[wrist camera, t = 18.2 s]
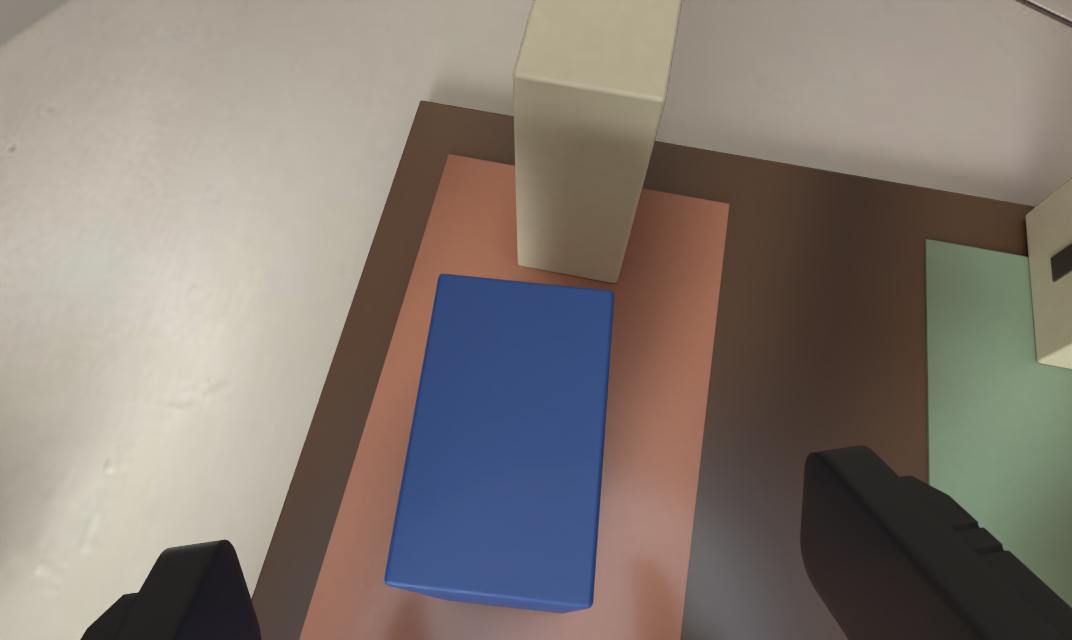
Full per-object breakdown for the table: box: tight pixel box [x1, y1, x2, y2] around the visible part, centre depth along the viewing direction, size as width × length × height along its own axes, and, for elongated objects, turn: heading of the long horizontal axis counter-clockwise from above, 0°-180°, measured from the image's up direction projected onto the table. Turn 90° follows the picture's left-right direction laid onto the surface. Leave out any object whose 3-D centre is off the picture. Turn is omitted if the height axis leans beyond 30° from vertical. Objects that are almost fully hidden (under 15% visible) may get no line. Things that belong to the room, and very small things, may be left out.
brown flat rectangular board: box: [251, 101, 1072, 640], centre depth 19 cm, size 26×20×1 cm
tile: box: [513, 0, 682, 283], centre depth 18 cm, size 3×5×8 cm, turn 168°
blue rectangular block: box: [384, 274, 614, 614], centre depth 15 cm, size 3×5×8 cm, turn 174°
